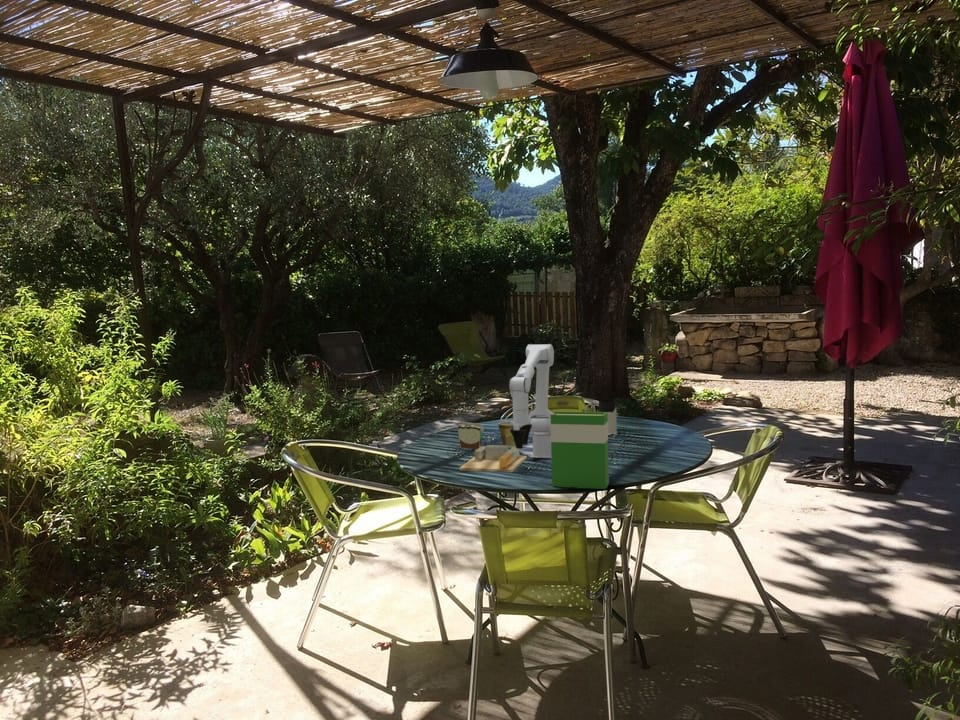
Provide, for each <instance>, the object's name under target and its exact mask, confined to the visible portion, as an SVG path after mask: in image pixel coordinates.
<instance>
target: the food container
mask: <svg viewBox="0 0 960 720" xmlns="http://www.w3.org/2000/svg"><path fill="white" fill-rule="evenodd" d="M456 431H457V434H458V440H459V441H458V442H459V448H465V449H464V450H472V449H475V450H474V451H476V450H477V449H479V448H480V447H482V441H483V440H482V439H483V432H484V431H485V430H484V426H483V424H482V423H474V422H472V423H460V424H457V425H456Z"/></svg>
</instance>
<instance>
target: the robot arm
mask: <svg viewBox="0 0 960 720" xmlns="http://www.w3.org/2000/svg"><path fill="white" fill-rule="evenodd" d="M554 356H555V350H554V347H553V345H552V344H551V343H548V344H545V343H544V344H530V343H529V344H527V346H526V348H525V357H526V359H525V363H523V364H521V365H520V367H519V368H518V371H517V373H516V374H515V376H513V377H511V378H510V379H509V392H510V397H511V398H512V420H510V423H511V424H513V425H514V429H510V432H511V434H512V436H513V438H514V441H515V445H516V449H519V450H522V449H523V448H524V445H528V442H529V436H530V434H531V435H532V436H531V437H532V454H533V455H532V454H531V455H530V456H529V457H530V458H534V457H535V459H536V458H537V459H538V458H539V459H542V458H543V459H552V455H551V419H550V415H555V413H553V412H552V411H551V410H550V409H549V407H548V406H549V405H548V402H549V377H550V375H549V374H550V367H552V366H553V365H554V360H555V357H554ZM535 368H536V383H535V402H534V403H535V405H534V409H533V410H531V411H530V412H529V392H530V391H531V384H532V379H533V377H534V374H535Z"/></svg>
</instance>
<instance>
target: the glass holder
mask: <svg viewBox="0 0 960 720" xmlns="http://www.w3.org/2000/svg"><path fill="white" fill-rule="evenodd" d="M588 406H592V407H593V409H594V412H597V411H596V406H595V405H594V404H592V403H591V404H590V403H589V404H587V405H586V406H585V408H584V412H587V407H588ZM598 412H608V435H610V434H616V433H618V432H617V430H618V429H617V428H618V427H617V421H618V420H617V400H616V399H615V400H614V399H600V400H598Z"/></svg>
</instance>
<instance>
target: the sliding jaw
mask: <svg viewBox="0 0 960 720" xmlns="http://www.w3.org/2000/svg"><path fill="white" fill-rule="evenodd" d="M519 456H520V449H516V447H512V448H509V450H508V451H507V452H506V453H505V454H504V455H503V456H501V457H500V458H499V465H500V468H507V467H508V466H509V465H510V464H511V463H512V462H513V461H514V460H516V459H517V458H518V457H519Z"/></svg>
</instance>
